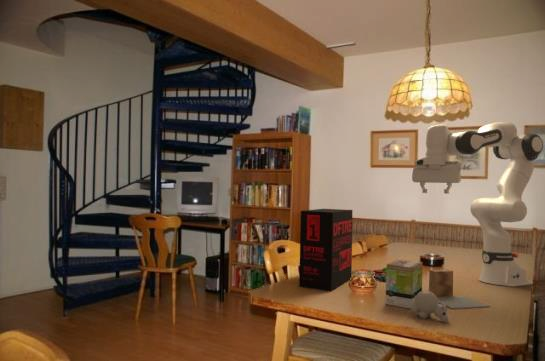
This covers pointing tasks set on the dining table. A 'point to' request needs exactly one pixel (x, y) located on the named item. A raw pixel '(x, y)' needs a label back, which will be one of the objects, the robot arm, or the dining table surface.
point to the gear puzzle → (380, 274)
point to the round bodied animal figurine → (429, 306)
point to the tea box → (403, 282)
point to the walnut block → (441, 282)
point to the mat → (460, 302)
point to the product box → (325, 248)
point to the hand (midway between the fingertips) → (435, 193)
